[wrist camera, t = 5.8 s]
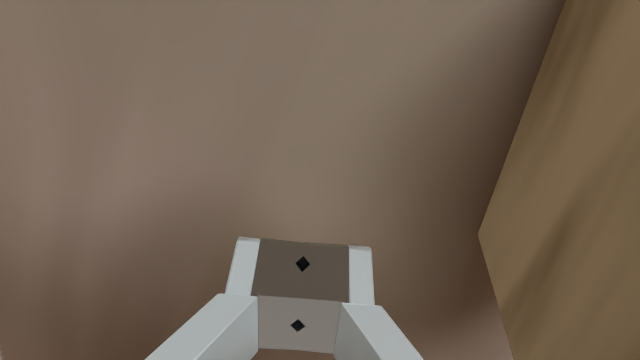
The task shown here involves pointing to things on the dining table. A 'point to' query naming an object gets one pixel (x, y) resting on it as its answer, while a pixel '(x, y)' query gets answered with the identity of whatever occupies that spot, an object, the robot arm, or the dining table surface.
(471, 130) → the dining table surface
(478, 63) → the dining table surface
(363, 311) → the robot arm
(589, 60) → the oak block
